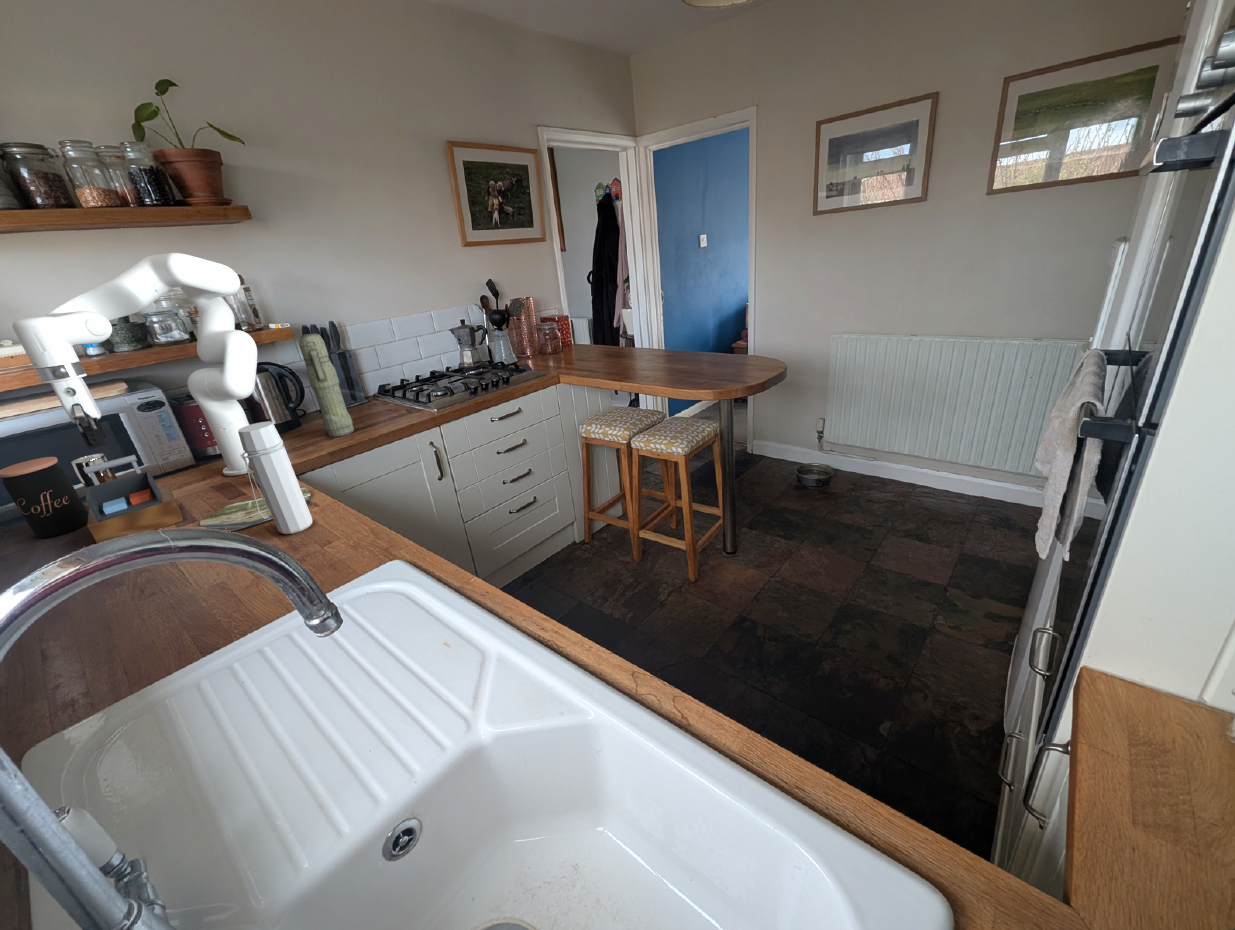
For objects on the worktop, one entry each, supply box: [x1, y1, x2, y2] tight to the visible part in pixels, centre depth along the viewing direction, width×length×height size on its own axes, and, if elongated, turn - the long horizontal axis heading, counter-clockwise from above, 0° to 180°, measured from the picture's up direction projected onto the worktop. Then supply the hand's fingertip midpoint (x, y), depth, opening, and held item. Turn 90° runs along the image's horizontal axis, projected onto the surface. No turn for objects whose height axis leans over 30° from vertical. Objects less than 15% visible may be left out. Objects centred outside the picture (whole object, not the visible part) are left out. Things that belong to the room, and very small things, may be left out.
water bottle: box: [238, 421, 313, 535], centre depth 116 cm, size 9×8×25 cm
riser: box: [86, 485, 184, 543], centre depth 131 cm, size 16×14×6 cm
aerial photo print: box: [198, 485, 312, 532], centre depth 131 cm, size 25×19×2 cm
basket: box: [83, 454, 163, 522], centre depth 127 cm, size 12×12×11 cm
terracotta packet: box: [129, 489, 153, 505], centre depth 130 cm, size 4×5×2 cm
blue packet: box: [103, 497, 127, 514], centre depth 126 cm, size 4×5×2 cm
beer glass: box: [70, 453, 118, 489], centre depth 142 cm, size 7×7×15 cm
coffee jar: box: [0, 456, 89, 539], centre depth 132 cm, size 11×11×18 cm
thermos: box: [298, 332, 355, 438], centre depth 182 cm, size 9×12×35 cm
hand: (98, 442), depth 126 cm, fingers open, 9 cm apart
